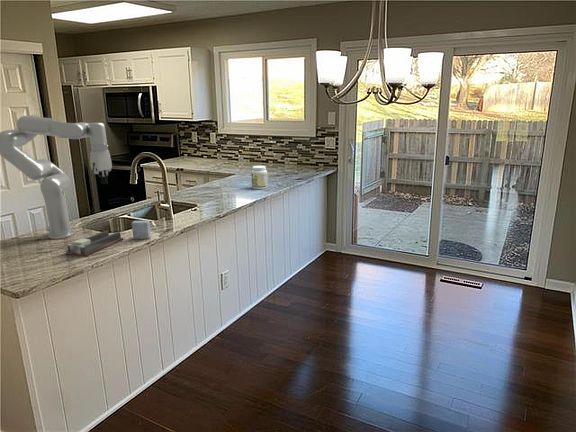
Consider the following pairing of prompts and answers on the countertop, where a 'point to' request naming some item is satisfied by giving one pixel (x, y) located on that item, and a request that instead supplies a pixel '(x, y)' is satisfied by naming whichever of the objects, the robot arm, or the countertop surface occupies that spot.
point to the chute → (95, 244)
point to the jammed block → (82, 242)
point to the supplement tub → (259, 177)
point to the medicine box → (141, 230)
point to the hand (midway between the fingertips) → (104, 183)
